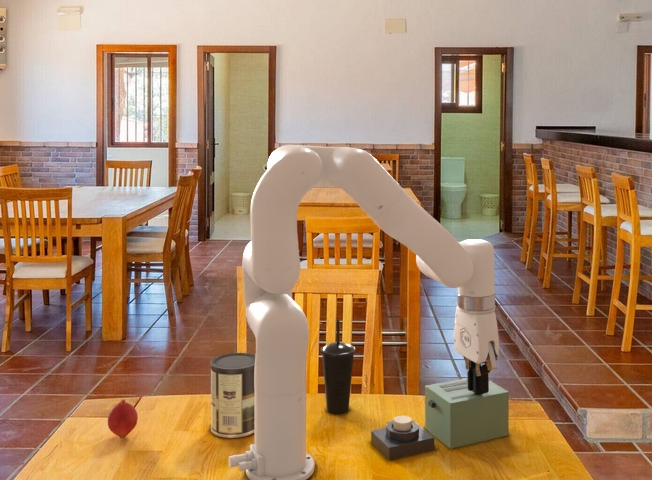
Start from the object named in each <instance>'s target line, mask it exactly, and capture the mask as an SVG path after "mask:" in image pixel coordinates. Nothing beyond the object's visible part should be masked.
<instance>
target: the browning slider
mask: <svg viewBox="0 0 652 480" xmlns="http://www.w3.org/2000/svg"><path fill="white" fill-rule="evenodd" d="M474 375H476V368H473V392H474Z"/></svg>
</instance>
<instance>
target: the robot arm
mask: <svg viewBox="0 0 652 480" xmlns="http://www.w3.org/2000/svg"><path fill="white" fill-rule="evenodd" d="M266 167H267V169H266V171H265V172H264V173H263V175H262V176H261V178H259V181H258V182H257V184H256V187H255V189H254V191H253V193H252V197H251V202H250V215H249V216H250V241H249V242H248V244H247V245H246V246H245V248H244V250H243V254H242V261H241V268H242V269H241V271H242V284H243V285H242V286H243V298H244V299H243V301H244V309H245V317H246V321H247V324H248V326H249V328H250V330H251V331H252V333H253V335H254V337H255V355H256V356H255V369H254V396H255V432H254V443H251V444H249V450H245V451H244V453H241V454H234V455H229V456H228V461H227V463H228V467H229V468H230V469H232V468H236V467H238V470H239V472H243V471H245V474H246V477H247V478H248V479H249V480H308V479H309V478H310V477H311V476H312V475H313V474H314V472H315V465H316V464H315V459H314V458H313V456H311V455H310V454H309V453H307V358H308V349H309V343H310V342H309V341H310V326H309V321H308V318H307V316H306V314H305V312H304V311H303V309H302V308H301V306H300V305H299V304H298V303H297V302H296V301H295V300H294V299H293V291H292V289H293V288H294V287H295V286H296V284H297V283H298V282H299V281H298V280H299V278H300V275H301V259H300V258H301V257H300V251H299V250H300V249H299V235H298V210H299V206H300V204H301V201H302V199H303V198H304V197H305V195H307V194H308V193H309V192H310V191H311V190H312V189H341V190H342V191H344V192H345V194H346V195H347V196H349V198H351V199H352V201H353V202H355V203H356V205H357V206H358V207H360V209H361V210H362V211H363V212H364V213H365V214H366V215H367V216H368V218H370V220H371V221H372V222H374V224H375V225H376V226H377V227H378V228H379V229H380V230H381V231H383V232H384V233H385V234H387V235H388V236H389V237H390V238H393V239H394V240H395V241H397V242H399V243H400V244H401V245H403V246H404V247H406V248H408V250H410V251H411V252H412V253H413V254H415V255H416V256H415V262H416V266H417V268H418V269H419V271H420V272H421V273H422V274H423V275H425V276H426V277H427V278H430V279H432V280H434V281H436V282H438V283H440V284H442V285H443V286H446V287H447V288H453V289H457V305H456V308H455V313H454V314H455V315H454V325H453V326H454V329H453V347H454V350H455V351H456V353H458V354H459V355H461V356H462V358H463V359H464V362H465V369H466V372H467V373H466V374H467V377H466V378H467V380H468V390H469V391H473V368H476V375H474V394H476V395H480V394H484V393H488V392H489V379H490V377H489V375H490V374H491V371H494V370H495V371H496V370H497V369H498V364H497V361H498V359H499V356H500V339H499V338H500V337H499V328H498V321H497V314H496V281H495V249H494V248H495V247H494V245H493V243H492V242H490V241H487V240H484V239H477V238H476V239H465V240H462V241H458V240H457V238H456V237H454V236H453V235H452V234H451V232H450V231H448V229H446V228H445V227H444V226H443V225H442V224H441V223H440V222H439V221H438V220H437V219H435V217H433V216H432V215H431V214H430V213H429V212H428V211H427V210H425V209H424V208H423V207H422V206H421V204H419V203H418V202H417V201H416V200H414V199H413V198H412V197H411V196H410V195H409V193H408V192H407V191H406V190H405V189H404V188H403V187H402V186H401V185H400V183H398V182H397V181H396V180H395V178H393V176H392V175H391V174H390V173H389V172H388V171H387V170H386V169H385V167H383V165H382V164H381V163H380V162H379V161H378V160H377V159H376V158H375V157H374V156H373V155H372V154H371V153H370V152H368V151H366V150H364V149H361V148H357V147H351V146H350V147H349V146H319V145H301V144H285V145H280V146H279V147H277V148H275V149H274V150H273V151H272V152H271V154H270V156H269V157H268V160H267V166H266Z"/></svg>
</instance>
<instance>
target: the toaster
mask: <svg viewBox="0 0 652 480" xmlns="http://www.w3.org/2000/svg"><path fill="white" fill-rule="evenodd" d="M509 397H510V392H509V391H508V390H506V389H505V388H503V387H502V386H500V385H498V384H496V383H495V382H493V381H491V380H489V392H488V393H484V394H480V395H476V394H474V392H473V391H469V390H468V380H467V377H465V378H464V377H463V378H458V379H454V380H449V381H444V382H438V383H432V384H427V385H424V430H426V431H427V432H428V433H429V434H431V435H432V436H433V437H434V438H436V439H438V440H439V441H440V442H441V443H442V444H444V445H445V447H447V448H449V449H455V448H460V447H464V446H468V445H472V444H476V443H477V444H478V443H481V442H485V441H489V440H494V439H499V438H502V437H507V436H509V433H510V432H509V429H510V428H509V426H510V425H509V424H510V423H509V419H510V417H509V415H510V414H509V412H510V408H509V407H510V406H509V405H510V403H509V402H510V399H509Z"/></svg>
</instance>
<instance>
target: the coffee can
mask: <svg viewBox="0 0 652 480" xmlns="http://www.w3.org/2000/svg"><path fill="white" fill-rule="evenodd" d="M255 356H256V354H253V353H247V352H231V353H224V354H221V355H218V356H216V357H214V358H212V359H211V360H210V362H209V365H210V366H209V367H210V406H211V407H210V419H211V420H210V431H211V433H212V434H214V436H217V437H219V438H223V439H238V438H244V437H248V436H251V435H253V434H255V396H254V369H255Z"/></svg>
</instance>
